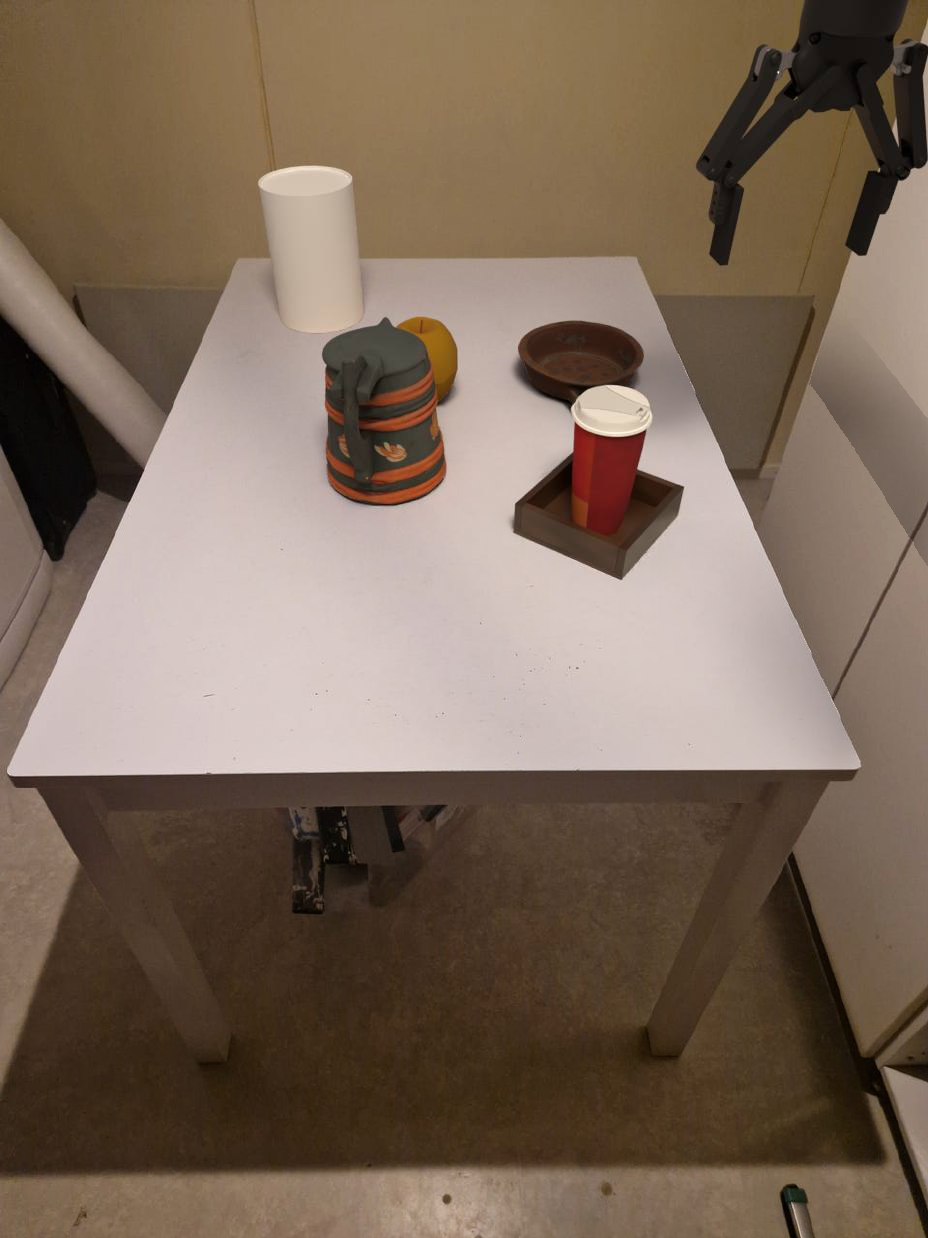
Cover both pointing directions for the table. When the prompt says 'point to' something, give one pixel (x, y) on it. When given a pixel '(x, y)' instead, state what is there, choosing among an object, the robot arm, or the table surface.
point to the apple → (436, 350)
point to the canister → (313, 247)
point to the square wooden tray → (551, 526)
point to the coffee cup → (606, 454)
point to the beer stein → (381, 416)
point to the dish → (579, 357)
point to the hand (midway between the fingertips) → (787, 255)
